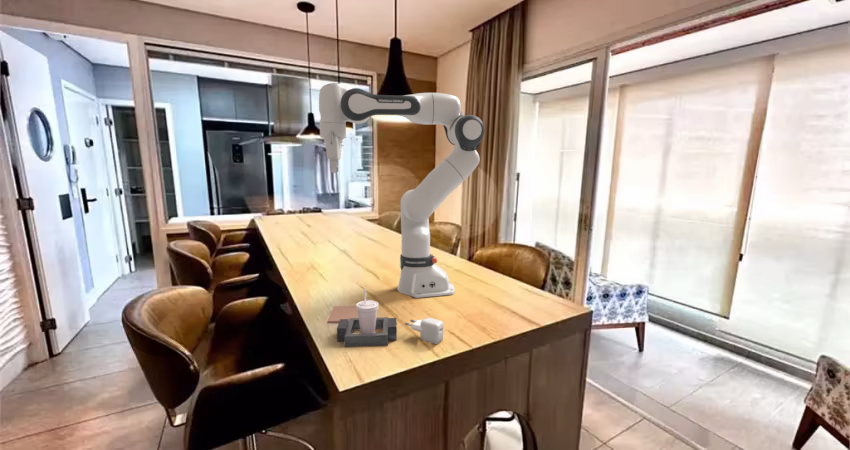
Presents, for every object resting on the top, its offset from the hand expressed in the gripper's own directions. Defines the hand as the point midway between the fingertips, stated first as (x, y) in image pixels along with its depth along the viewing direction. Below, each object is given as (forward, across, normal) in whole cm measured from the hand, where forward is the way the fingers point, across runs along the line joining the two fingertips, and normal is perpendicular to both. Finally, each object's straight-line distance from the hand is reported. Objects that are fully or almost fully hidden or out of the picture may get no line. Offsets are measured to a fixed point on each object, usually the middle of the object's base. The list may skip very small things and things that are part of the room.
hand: (334, 172), depth 128 cm
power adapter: (+46, -39, -25) cm, 66 cm away
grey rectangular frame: (+46, -36, -10) cm, 59 cm away
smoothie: (+46, -36, -10) cm, 59 cm away
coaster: (+46, -20, -4) cm, 50 cm away
